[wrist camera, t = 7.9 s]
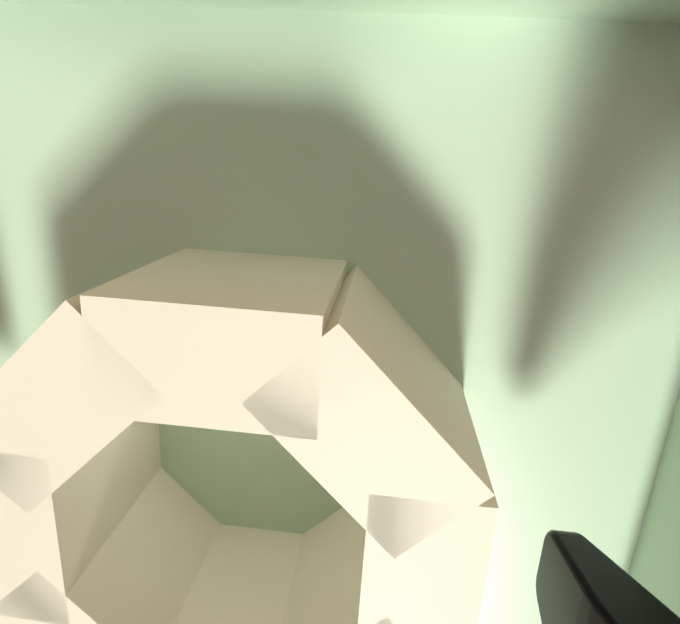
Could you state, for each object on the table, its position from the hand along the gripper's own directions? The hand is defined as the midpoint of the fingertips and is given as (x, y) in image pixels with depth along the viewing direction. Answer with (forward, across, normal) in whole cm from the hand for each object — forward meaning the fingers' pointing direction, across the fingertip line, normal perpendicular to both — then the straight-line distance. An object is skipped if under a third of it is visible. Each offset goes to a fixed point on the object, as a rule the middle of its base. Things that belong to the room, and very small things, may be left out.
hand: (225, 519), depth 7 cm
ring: (+2, 0, 0) cm, 2 cm away
